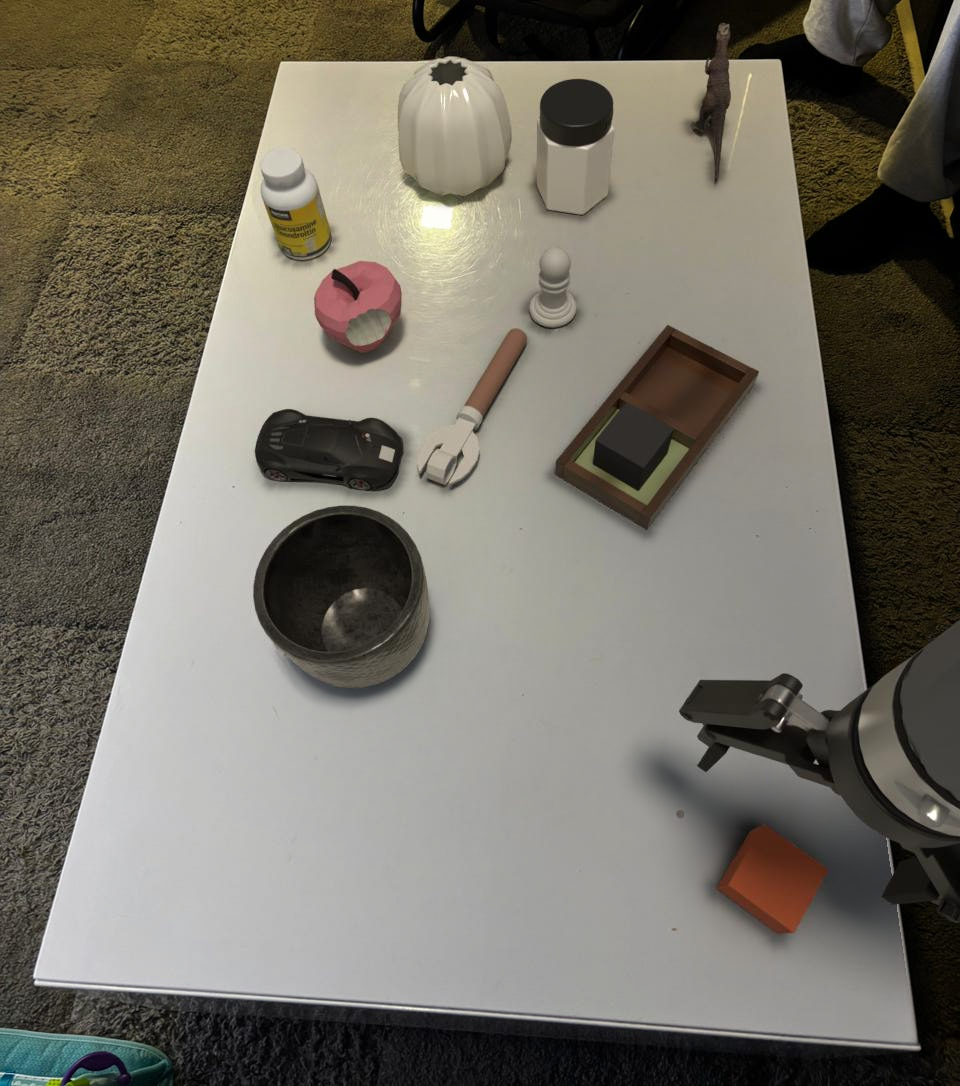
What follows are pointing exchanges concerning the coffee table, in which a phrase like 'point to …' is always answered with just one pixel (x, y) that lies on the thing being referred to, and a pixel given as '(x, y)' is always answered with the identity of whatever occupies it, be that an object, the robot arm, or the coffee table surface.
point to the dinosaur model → (716, 92)
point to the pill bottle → (294, 204)
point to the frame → (675, 399)
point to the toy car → (329, 450)
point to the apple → (358, 305)
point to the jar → (574, 145)
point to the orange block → (772, 879)
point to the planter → (344, 595)
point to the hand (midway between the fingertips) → (800, 815)
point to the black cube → (632, 446)
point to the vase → (453, 126)
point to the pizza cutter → (469, 419)
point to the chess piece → (553, 290)
